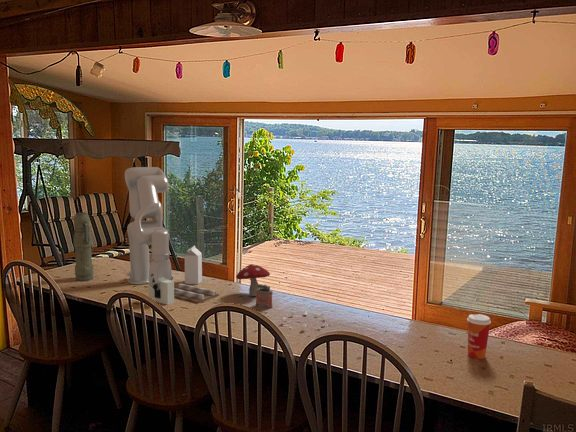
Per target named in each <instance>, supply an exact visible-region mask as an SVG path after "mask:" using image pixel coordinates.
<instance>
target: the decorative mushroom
mask: <svg viewBox="0 0 576 432" xmlns="http://www.w3.org/2000/svg"><path fill="white" fill-rule="evenodd" d="M269 276H271V274H270V272H269V271H268V269H266V268H264V267H263V266H260V265H257V264H254V263H251V264H248V265H246V266H245V267H243V268H242V269H241V270H240V271H239V272H237V274H236V276H235V278H236V279H237V280H249V279H250V284H249V288H248V289H249V291H248V295H249V296H251V297H256V289H260V288H259V287H257V285H258V284H259V282H258V281H257V279H259V278H267V277H269Z"/></svg>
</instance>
